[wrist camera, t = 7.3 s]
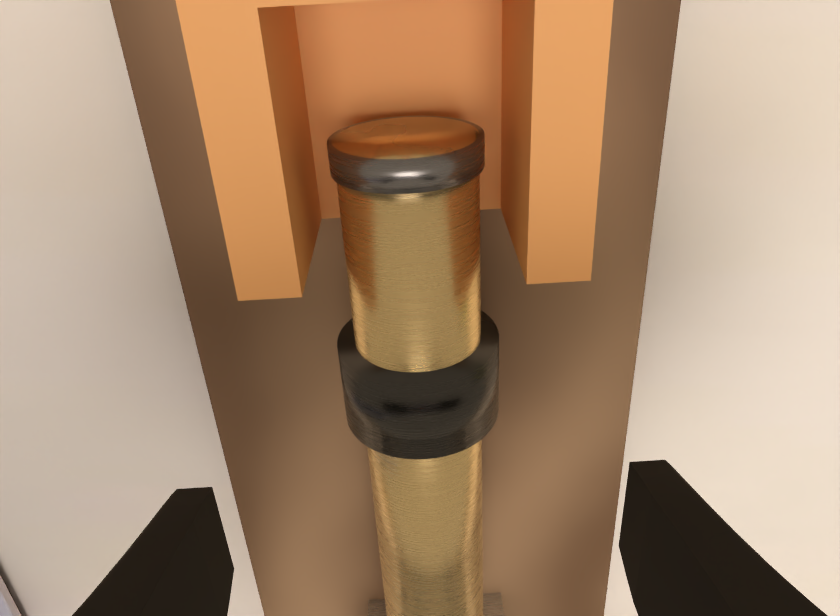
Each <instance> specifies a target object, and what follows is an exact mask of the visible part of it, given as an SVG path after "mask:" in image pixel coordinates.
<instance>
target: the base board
mask: <svg viewBox="0 0 840 616" xmlns="http://www.w3.org/2000/svg"><path fill="white" fill-rule="evenodd" d="M110 3H111V7H112V11H113V15H114V19H115V23H116V27H117V31H118V35H119V38H120V42H121V46H122V50H123V54H124V58H125V62H126V66H127V70H128V74H129V78H130V82H131V86H132V90H133V94H134V98H135V102H136V106H137V110H138V114H139V118H140V122H141V126H142V130H143V134H144V138H145V142H146V146H147V150H148V154H149V158H150V162H151V166H152V170H153V174H154V178H155V182H156V186H157V190H158V194H159V198H160V202H161V206H162V209H163V213H164V217H165V221H166V225H167V229H168V233H169V237H170V241H171V245H172V249H173V253H174V257H175V261H176V265H177V269H178V273H179V277H180V281H181V285H182V289H183V293H184V297H185V301H186V305H187V309H188V313H189V317H190V321H191V325H192V329H193V333H194V337H195V341H196V345H197V349H198V353H199V357H200V361H201V365H202V369H203V373H204V377H205V380H206V384H207V388H208V392H209V396H210V400H211V404H212V408H213V412H214V416H215V420H216V424H217V428H218V432H219V436H220V440H221V444H222V448H223V452H224V456H225V460H226V464H227V468H228V472H229V476H230V480H231V484H232V488H233V492H234V496H235V500H236V504H237V508H238V512H239V516H240V520H241V524H242V528H243V532H244V536H245V540H246V544H247V548H248V551H249V555H250V559H251V563H252V567H253V571H254V575H255V579H256V583H257V587H258V591H259V595H260V599H261V603H262V607H263V611H264V615H265V616H368V600H374V599H385V597H384V588H383V579H382V571H381V562H380V554H379V545H378V536H377V528H376V519H375V510H374V502H373V493H372V484H371V476H370V467H369V458H368V450H367V446H366V445H364V444H363V443H362V442H360V441H359V440H358V439H357V438H356V437H355V436H354V434H353V433H352V431H351V430H350V428H349V425H348V422H347V418H346V410H345V402H344V395H343V387H342V379H341V372H340V364H339V357H338V349H337V340H338V336H339V333H340V331H341V329H342V328H343V327H344V325H345V324H346V323H347V322H348V321H349V320H350V319H352V311H351V303H350V294H349V285H348V277H347V268H346V260H345V251H344V242H343V234H342V225H341V218H328V219H321V223H320V227H319V231H318V235H317V239H316V243H315V247H314V251H313V255H312V259H311V263H310V267H309V271H308V275H307V279H306V283H305V287H304V291H303V295H302V297H297V298H280V299H262V300H245V301H238V299H237V294H236V289H235V284H234V279H233V275H232V270H231V265H230V260H229V255H228V251H227V246H226V241H225V236H224V231H223V227H222V222H221V217H220V212H219V207H218V203H217V198H216V193H215V188H214V183H213V179H212V174H211V169H210V164H209V159H208V155H207V150H206V145H205V140H204V135H203V131H202V126H201V121H200V116H199V111H198V107H197V102H196V97H195V92H194V87H193V83H192V78H191V73H190V68H189V63H188V59H187V54H186V49H185V44H184V39H183V35H182V30H181V25H180V20H179V15H178V11H177V6H176V1H175V0H110ZM680 4H681V0H614V2H613V14H612V26H611V39H610V51H609V63H608V76H607V88H606V100H605V113H604V125H603V137H602V149H601V162H600V174H599V186H598V199H597V211H596V223H595V236H594V248H593V260H592V273H591V281H575V282H558V283H541V284H526V281H525V278H524V275H523V272H522V269H521V266H520V264H519V261H518V258H517V255H516V252H515V249H514V246H513V243H512V240H511V237H510V234H509V232H508V229H507V226H506V223H505V220H504V217H503V214H502V211H501V209H484V210H480V285H481V310H482V311H483V312H485V313H486V314H487V315H488V316H489V317H490V318H491V319H492V320H493V321H494V323H495V324H496V326H497V328H498V331H499V411H498V417H497V420H496V422H495V424H494V426H493V428H492V429H491V430H490V432H489V433H488V434H487V435H486V436H485V437H484V438H483V439H482V528H483V593H498V592H501V597H502V604H503V610H504V616H604V608H605V600H606V592H607V584H608V576H609V569H610V561H611V553H612V545H613V537H614V529H615V521H616V513H617V505H618V497H619V489H620V481H621V473H622V465H623V457H624V449H625V441H626V433H627V425H628V417H629V409H630V401H631V394H632V386H633V378H634V370H635V362H636V354H637V346H638V338H639V330H640V322H641V314H642V306H643V298H644V290H645V282H646V274H647V266H648V258H649V250H650V242H651V234H652V226H653V219H654V211H655V203H656V195H657V187H658V179H659V171H660V163H661V155H662V147H663V139H664V131H665V123H666V115H667V107H668V99H669V91H670V83H671V75H672V67H673V59H674V51H675V43H676V36H677V28H678V20H679V12H680Z"/></svg>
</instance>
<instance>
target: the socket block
mask: <svg viewBox="0 0 840 616" xmlns="http://www.w3.org/2000/svg"><path fill="white" fill-rule="evenodd" d="M175 1H176V6H177V11H178V15H179V20H180V25H181V30H182V35H183V39H184V44H185V49H186V54H187V59H188V63H189V68H190V73H191V78H192V83H193V87H194V92H195V97H196V102H197V107H198V111H199V116H200V121H201V126H202V131H203V135H204V140H205V145H206V150H207V155H208V159H209V164H210V169H211V174H212V179H213V183H214V188H215V193H216V198H217V203H218V207H219V212H220V217H221V222H222V227H223V231H224V236H225V241H226V246H227V251H228V255H229V260H230V265H231V270H232V275H233V279H234V284H235V289H236V294H237V299H238V301H245V300H262V299H280V298H297V297H302V295H303V291H304V287H305V283H306V279H307V275H308V271H309V267H310V263H311V259H312V255H313V251H314V247H315V243H316V239H317V235H318V231H319V227H320V223H321V219H328V218H341V216H340V208H339V199H338V190H337V182H335V181H334V180H333V179H332V177H331V175H330V167H329V158H328V150H327V140H328V138H329V137H330V136H331V135H332V134H333V133H335V132H336V131H338V130H340V129H342V128H345V127H347V126H350V125H353V124H357V123H360V122H364V121H369V120H374V119H380V118H387V117H397V116H417V115H425V116H443V117H451V118H457V119H462V120H466V121H469V122H472V123H474V124H476V125H478V126H480V127H481V128H482V129H483V130H484V134H485V166H484V169H483V171H482V172H481V173H480V210H484V209H501V211H502V214H503V217H504V220H505V223H506V226H507V229H508V232H509V234H510V237H511V240H512V243H513V246H514V249H515V252H516V255H517V258H518V261H519V264H520V266H521V269H522V272H523V275H524V278H525V281H526V284H541V283H558V282H575V281H591V273H592V260H593V248H594V236H595V223H596V211H597V199H598V186H599V174H600V162H601V149H602V137H603V125H604V113H605V100H606V88H607V76H608V63H609V51H610V39H611V26H612V14H613V2H614V0H175Z"/></svg>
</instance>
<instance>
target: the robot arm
mask: <svg viewBox="0 0 840 616" xmlns="http://www.w3.org/2000/svg"><path fill="white" fill-rule="evenodd" d="M619 548H620V552H621V556H622V560H623V564H624V568H625V572H626V576H627V580H628V584H629V587H630V591H631V595H632V598H633V602H634V605H635V608H636V610H637V613H638V616H827V615H826V614H825V613H824V612H822V611H821V610H820V609H819V608H818V607H817V606H815V605H814V604H813V603H812V602H811V601H810V600H808V599H807V598H806V597H805V596H804V595H803V594H802V593H800V592H799V591H798V590H797V589H796V588H795V587H794V586H792V585H791V584H790V583H789V582H788V581H787V580H786V579H785V578H783V577H782V576H781V575H780V574H779V573H778V572H777V571H776V570H775V569H774V568H773V567H772V566H770V565H769V564H768V563H767V562H766V561H765V560H764V559H763V558H762V557H761V556H760V555H759V554H758V553H757V552H756V551H755V550H754V549H753V548H752V547H751V546H749V545H748V544H747V543H746V542H745V541H744V540H743V539H742V538H741V537H740V536H739V535H738V534H737V533H736V532H735V531H734V530H733V529H732V528H731V527H730V526H729V525H728V524H727V523H726V522H725V521H724V520H723V519H722V518H721V517H720V516H719V515H718V514H717V513H716V512H715V511H714V510H713V509H712V508H711V507H710V506H709V505H708V504H707V503H706V502H705V501H704V499H703V498H702V497H701V496H700V495H699V494H698V493H697V492H696V491H695V490H694V489H693V488H692V487H691V486H690V485H689V484H688V483H687V482H686V481H685V480H684V479H683V477H682V476H681V475H680V474H679V473H678V472H677V471H676V470H675V469H674V468H673V467H672V466H671V465H670V464H669V463H668V462H667V461H666V460H656V461H639V462H630V464H629V471H628V479H627V487H626V494H625V502H624V510H623V517H622V525H621V532H620V540H619ZM233 572H234V567H233V563H232V559H231V555H230V552H229V548H228V544H227V541H226V537H225V533H224V530H223V526H222V522H221V518H220V515H219V511H218V507H217V504H216V500H215V496H214V492H213V489H212V487H205V488H188V489H177V490H176V491H175V492H174V493H173V494H172V495H171V496H170V497H169V499H168V500H167V501H166V502H165V504H164V505H163V506H162V507H161V509H160V510H159V511H158V512H157V514H156V515H155V516H154V518H153V519H152V520H151V521H150V523H149V524H148V525H147V527H146V528H145V529H144V530H143V532H142V533H141V534H140V535H139V537H138V538H137V539H136V540H135V542H134V543H133V544H132V545H131V547H130V548H129V549H128V550H127V552H126V553H125V554H124V555H123V557H122V558H121V559H120V560H119V561H118V563H117V564H116V565H115V566H114V567H113V569H112V570H111V571H110V572H109V573H108V575H107V576H106V577H105V578H104V579H103V580H102V582H101V583H100V584H99V585H98V586H97V588H96V589H95V590H94V591H93V592H92V594H91V595H90V596H89V597H88V598H87V599H86V601H85V602H84V603H83V604H82V605H81V606H80V607H79V608H78V609H77V611H76V612H75V613H74V614H73V615H72V616H227V613H228V607H229V600H230V593H231V586H232V579H233ZM0 616H21V614H20V612H19V610H18V608H17V606H16V604H15V602H14V601H13V599H12V597H11V595H10V593H9V591H8V589H7V587H6V585H5V583H4V581H3V579H2V578H1V576H0Z"/></svg>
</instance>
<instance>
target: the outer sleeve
mask: <svg viewBox="0 0 840 616" xmlns="http://www.w3.org/2000/svg"><path fill="white" fill-rule="evenodd" d="M368 616H387V614H386V605H385V599H374V600H368ZM483 616H504V610H503V604H502V597H501V592H498V593H483Z"/></svg>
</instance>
